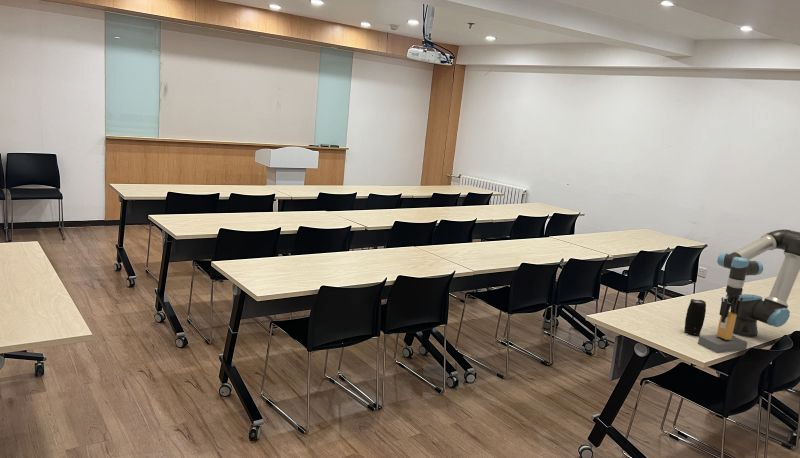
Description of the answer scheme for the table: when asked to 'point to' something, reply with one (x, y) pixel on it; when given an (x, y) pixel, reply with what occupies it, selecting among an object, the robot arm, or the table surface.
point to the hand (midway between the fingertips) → (725, 327)
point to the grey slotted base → (722, 343)
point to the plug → (727, 327)
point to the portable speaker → (695, 317)
